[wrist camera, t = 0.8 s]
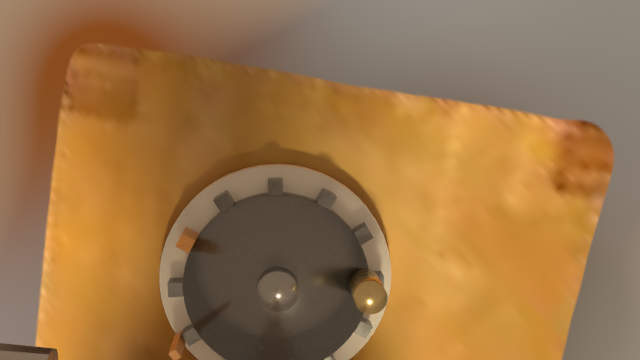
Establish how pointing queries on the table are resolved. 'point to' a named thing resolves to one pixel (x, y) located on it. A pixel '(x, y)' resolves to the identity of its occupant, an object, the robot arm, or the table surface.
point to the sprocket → (277, 278)
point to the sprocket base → (253, 184)
